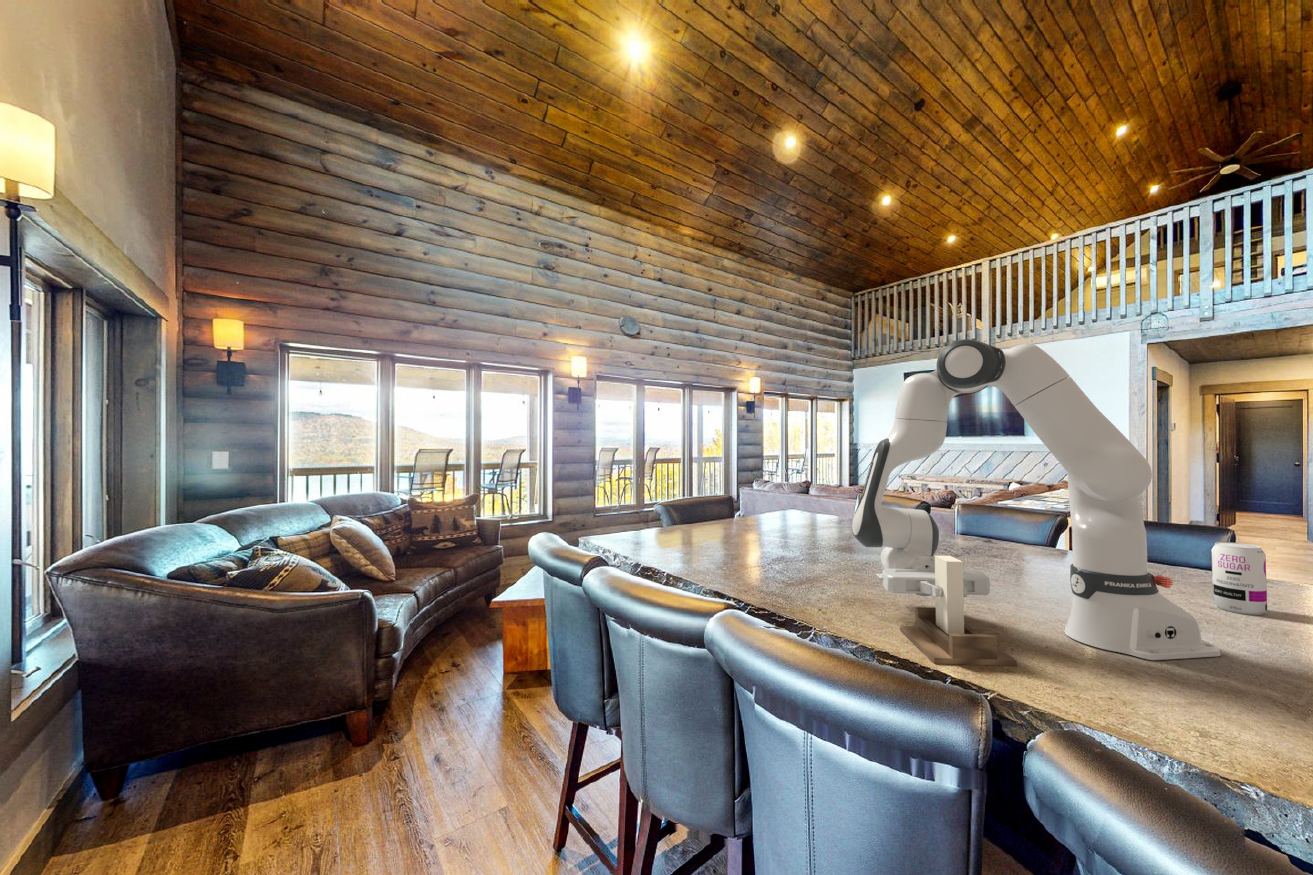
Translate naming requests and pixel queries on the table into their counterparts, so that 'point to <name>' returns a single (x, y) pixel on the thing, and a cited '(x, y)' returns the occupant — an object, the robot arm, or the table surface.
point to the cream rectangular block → (949, 594)
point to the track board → (954, 643)
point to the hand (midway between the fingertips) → (951, 592)
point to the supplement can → (1239, 578)
